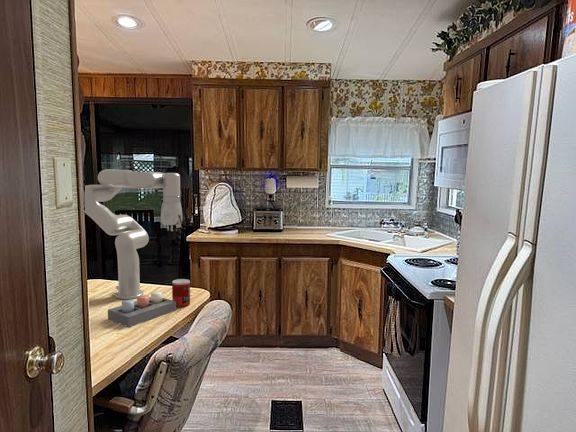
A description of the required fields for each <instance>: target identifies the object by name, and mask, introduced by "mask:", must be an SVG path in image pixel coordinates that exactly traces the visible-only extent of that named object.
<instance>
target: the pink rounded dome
mask: <svg viewBox="0 0 576 432" xmlns="http://www.w3.org/2000/svg"><path fill="white" fill-rule="evenodd" d="M149 297H150V296H149V295H145V294H143V295H142V296H138V297H137V298H136V301H137V308H140V309H143V308H146V307H149Z"/></svg>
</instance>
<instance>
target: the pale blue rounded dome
mask: <svg viewBox="0 0 576 432" xmlns="http://www.w3.org/2000/svg"><path fill="white" fill-rule="evenodd" d="M134 302H135V300H134V299H123V301H121V306H122V313H125V314H127V313H130V312H133V311H134Z"/></svg>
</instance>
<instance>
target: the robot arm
mask: <svg viewBox="0 0 576 432" xmlns="http://www.w3.org/2000/svg"><path fill="white" fill-rule="evenodd" d="M97 182H98V183H99V184H88V185H84V186H85V212H84V213H85V214H86V215H87V216H88V217H89V218H91V220H92V221H94V223H96V225H98V227H99V228H100V229H102V231H104V232H105V234H107V235H109V236H116V237H115V240H114V245H115V249H116V256H117V257H116V258H117V273H118V275H117V277H118V279H117V280H118V283H117V284H118V285H116V287H115V289H117V292H116V293H115V298H116V299H118V300H134V299H137V297H138V296H143V295H144V291H143V290H141V283H140V281H141V280H140V276H141V275H140V273H141V272H140V257H139V254H138V251H137V250H138V249H141V248H144V247H145V246H146V245H148V243H149V240H150V237H149V234H148V232H147V231H146V229H145V228H143V226H141V225H140V224H139V223H138V222H137V221H136V220H135V219H134V218H133V217H131V216H130V215H128V214H114V213H113V212H112V211H111V210H110V208H108V207H107V206H105V205H104V204H102V203H101V202H108V201H110V200H112V199H113V198H114V197H115V196H116V195H117V194H118V193H119V192H121V190H122V189H145V190H152V189H162V195H163V197H162V198H163V199H162V201H163V202H162V204H161V208H160V223H161V224H162V225H163V226H164V227H165V228H166V230H167V233H168V235H167V237H168V238H167V239H168V240H170V241H174V240H176V239H177V231H178V228H182V223H183V207H182V204H181V175H180V174H179V173H177V172H161V171H160V172H159V171H133V170H130V169H115V168H114V169H112V168H111V169H109V168H108V169H102V170H101V171H99V173H98V175H97Z"/></svg>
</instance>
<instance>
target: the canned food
mask: <svg viewBox="0 0 576 432" xmlns="http://www.w3.org/2000/svg"><path fill="white" fill-rule="evenodd" d="M171 281H172V282H171V293H172V295H171V297H172V298H171V300H172V301H176V308H186V307H189V306H190V305H191V281H190V279H185V278H177V279H174V280H171Z"/></svg>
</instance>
